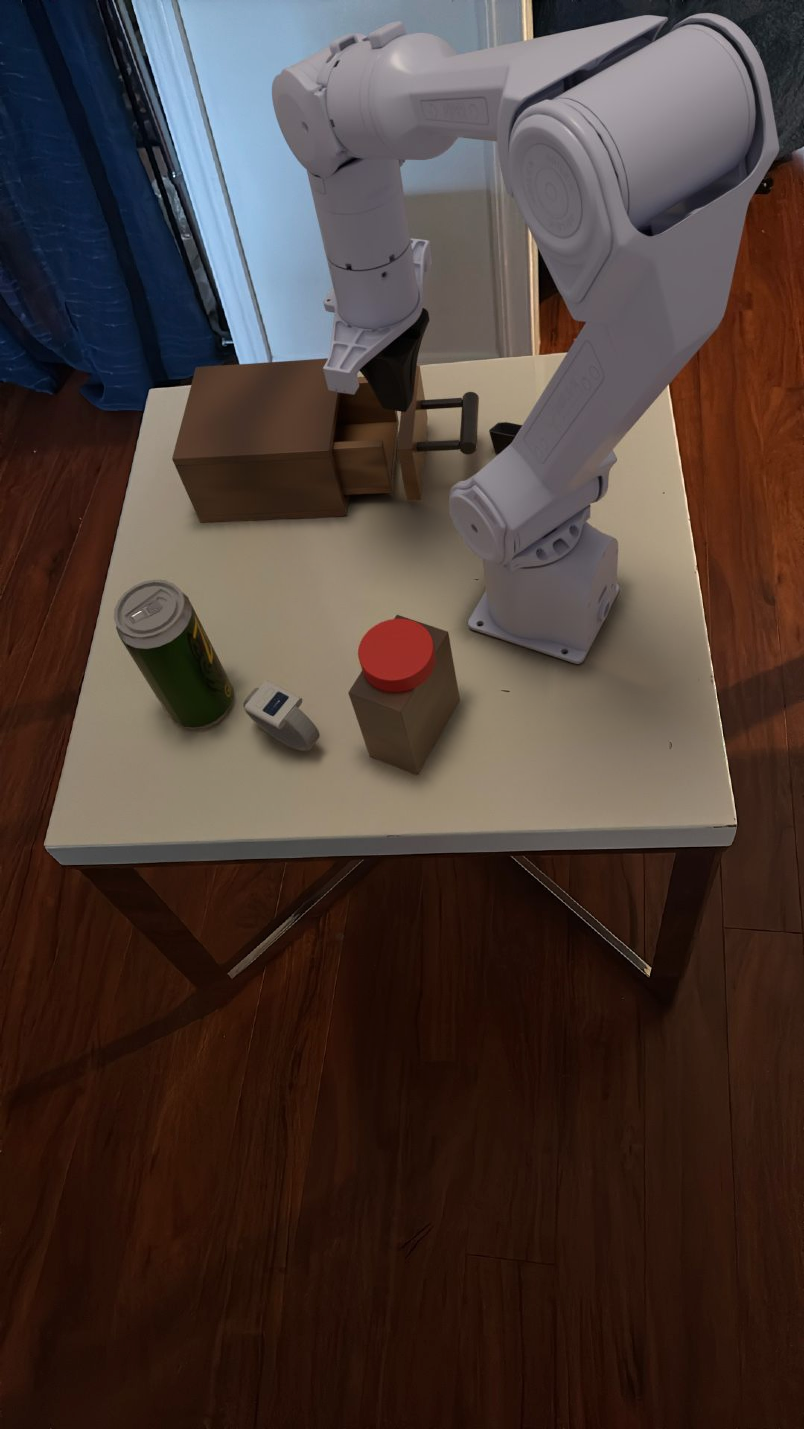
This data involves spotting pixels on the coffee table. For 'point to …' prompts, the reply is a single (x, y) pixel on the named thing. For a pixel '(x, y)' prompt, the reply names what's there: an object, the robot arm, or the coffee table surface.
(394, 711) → the stand
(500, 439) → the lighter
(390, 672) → the lid
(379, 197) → the robot arm
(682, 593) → the coffee table surface
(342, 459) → the drawer
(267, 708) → the wristwatch
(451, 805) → the coffee table surface
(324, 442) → the cabinet
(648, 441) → the coffee table surface
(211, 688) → the beer can
